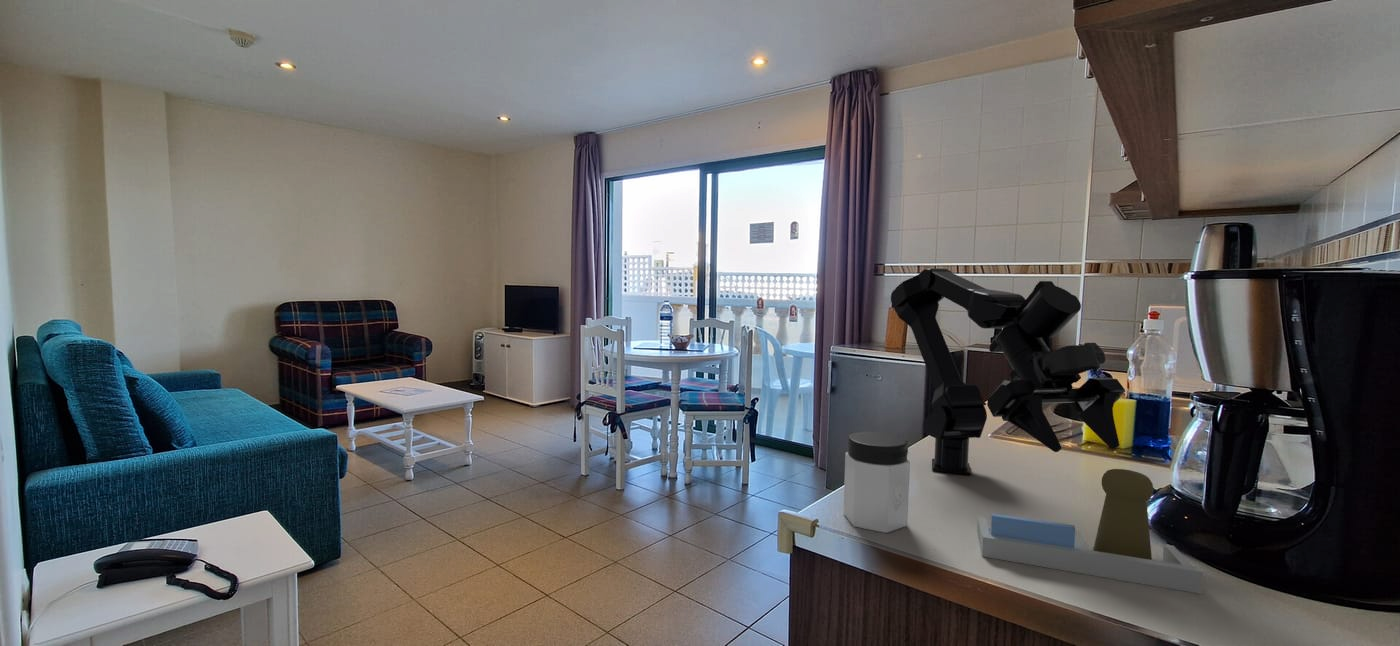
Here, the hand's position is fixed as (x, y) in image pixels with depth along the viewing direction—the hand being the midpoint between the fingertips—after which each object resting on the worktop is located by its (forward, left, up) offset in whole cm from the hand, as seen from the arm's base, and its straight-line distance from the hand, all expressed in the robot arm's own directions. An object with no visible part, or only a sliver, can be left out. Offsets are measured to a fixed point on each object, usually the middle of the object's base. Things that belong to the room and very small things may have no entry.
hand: (1087, 449), depth 77 cm
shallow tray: (+8, -2, -12) cm, 14 cm away
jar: (+6, -27, -12) cm, 30 cm away
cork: (+5, +3, -12) cm, 14 cm away
